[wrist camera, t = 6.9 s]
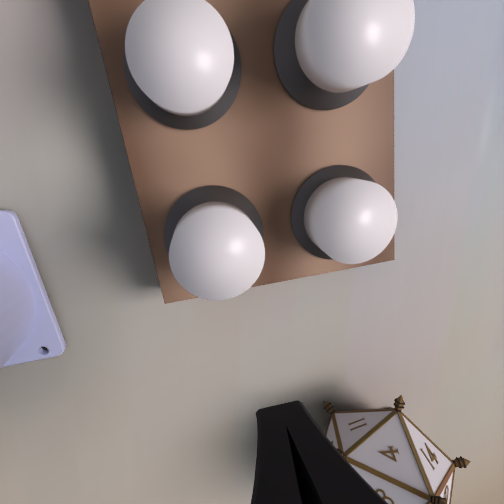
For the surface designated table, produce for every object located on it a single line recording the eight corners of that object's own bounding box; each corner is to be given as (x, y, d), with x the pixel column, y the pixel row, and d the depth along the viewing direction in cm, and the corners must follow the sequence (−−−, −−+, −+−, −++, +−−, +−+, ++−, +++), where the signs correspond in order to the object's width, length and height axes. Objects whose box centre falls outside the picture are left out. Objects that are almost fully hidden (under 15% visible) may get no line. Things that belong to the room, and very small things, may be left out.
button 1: (147, 122, 13) (140, 118, 12) (124, 17, 12) (111, -4, 10) (236, 109, 14) (241, 104, 12) (221, 6, 12) (224, -16, 11)
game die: (329, 365, 26) (421, 361, 17) (409, 443, 25) (549, 483, 16) (256, 469, 22) (324, 537, 13) (349, 563, 22) (486, 700, 13)
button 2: (182, 289, 14) (180, 308, 13) (164, 209, 13) (158, 218, 12) (262, 274, 15) (270, 290, 13) (251, 194, 14) (258, 201, 12)
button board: (168, 287, 18) (164, 306, 16) (54, -184, 12) (20, -259, 10) (375, 248, 19) (398, 261, 17) (365, -200, 13) (399, -270, 11)
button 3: (299, 98, 13) (314, 91, 11) (290, -12, 12) (305, -39, 10) (386, 86, 13) (413, 77, 11) (385, -22, 12) (415, -50, 10)
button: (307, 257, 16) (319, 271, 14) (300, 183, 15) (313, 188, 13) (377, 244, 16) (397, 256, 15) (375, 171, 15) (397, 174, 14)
